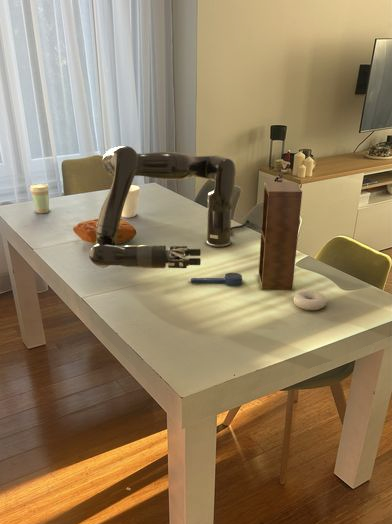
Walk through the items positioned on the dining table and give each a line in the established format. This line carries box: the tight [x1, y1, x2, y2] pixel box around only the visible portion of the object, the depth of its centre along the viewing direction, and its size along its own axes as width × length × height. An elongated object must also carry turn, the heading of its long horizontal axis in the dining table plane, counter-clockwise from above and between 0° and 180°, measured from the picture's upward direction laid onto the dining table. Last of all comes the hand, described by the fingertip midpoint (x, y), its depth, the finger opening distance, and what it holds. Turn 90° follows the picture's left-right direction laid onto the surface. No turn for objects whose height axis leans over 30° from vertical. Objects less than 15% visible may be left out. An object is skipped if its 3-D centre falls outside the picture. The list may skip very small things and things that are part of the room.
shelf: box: [257, 181, 303, 291], centre depth 175 cm, size 10×12×32 cm
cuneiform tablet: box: [72, 218, 138, 245], centre depth 216 cm, size 22×17×8 cm
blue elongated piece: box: [190, 272, 243, 287], centre depth 182 cm, size 17×6×2 cm, turn 90°
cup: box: [121, 184, 141, 218], centre depth 246 cm, size 12×12×12 cm
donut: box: [293, 290, 327, 311], centre depth 167 cm, size 10×4×10 cm
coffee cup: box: [29, 183, 50, 214], centre depth 251 cm, size 8×9×12 cm
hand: (200, 256), depth 178 cm, fingers open, 8 cm apart
